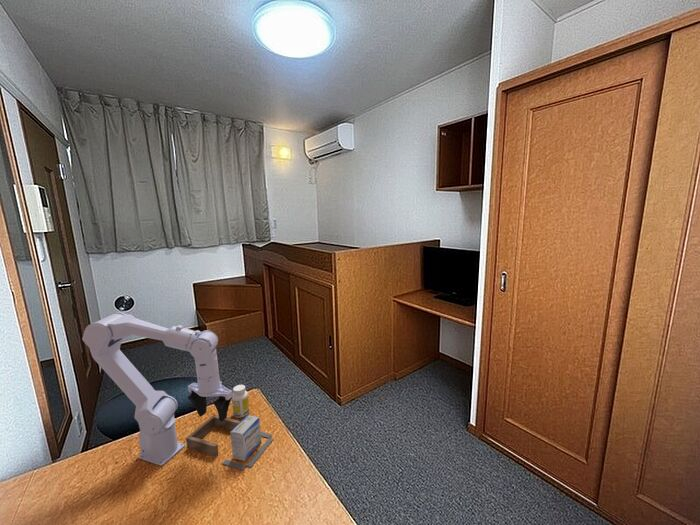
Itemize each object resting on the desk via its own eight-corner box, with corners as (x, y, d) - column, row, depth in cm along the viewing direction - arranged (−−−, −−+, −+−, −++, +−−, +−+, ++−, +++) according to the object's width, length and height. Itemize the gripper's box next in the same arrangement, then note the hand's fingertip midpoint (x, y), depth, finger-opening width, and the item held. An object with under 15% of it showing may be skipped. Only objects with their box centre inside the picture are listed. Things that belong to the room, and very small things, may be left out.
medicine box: (245, 462, 85) (242, 434, 83) (232, 458, 86) (229, 431, 85) (261, 442, 92) (260, 416, 91) (249, 439, 94) (247, 414, 92)
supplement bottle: (248, 406, 109) (246, 382, 108) (250, 415, 105) (248, 389, 103) (232, 410, 107) (230, 385, 106) (233, 420, 102) (231, 393, 101)
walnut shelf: (187, 448, 90) (186, 438, 90) (214, 424, 101) (214, 414, 100) (215, 457, 87) (214, 446, 86) (241, 431, 97) (240, 421, 97)
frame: (222, 464, 84) (222, 463, 84) (253, 430, 97) (253, 429, 97) (247, 472, 82) (247, 471, 81) (276, 436, 95) (276, 435, 95)
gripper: (238, 370, 88) (242, 412, 90) (199, 364, 92) (204, 404, 95) (220, 383, 81) (225, 428, 83) (179, 375, 86) (185, 418, 88)
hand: (213, 416), depth 88 cm, fingers open, 7 cm apart
